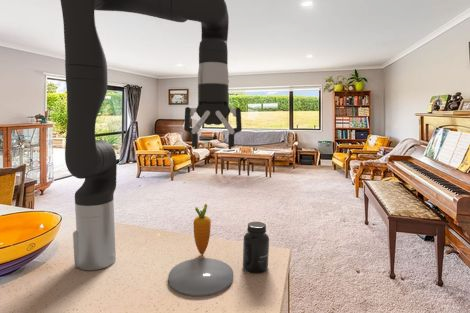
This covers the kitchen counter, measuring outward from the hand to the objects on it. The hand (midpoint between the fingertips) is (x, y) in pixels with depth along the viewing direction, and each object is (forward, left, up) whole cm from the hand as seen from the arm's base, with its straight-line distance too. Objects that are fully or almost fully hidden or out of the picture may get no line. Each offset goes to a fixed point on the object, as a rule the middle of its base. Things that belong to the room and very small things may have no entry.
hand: (213, 148), depth 73 cm
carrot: (-3, +7, -32) cm, 33 cm away
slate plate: (-2, -5, -32) cm, 32 cm away
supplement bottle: (+12, 0, -32) cm, 34 cm away
